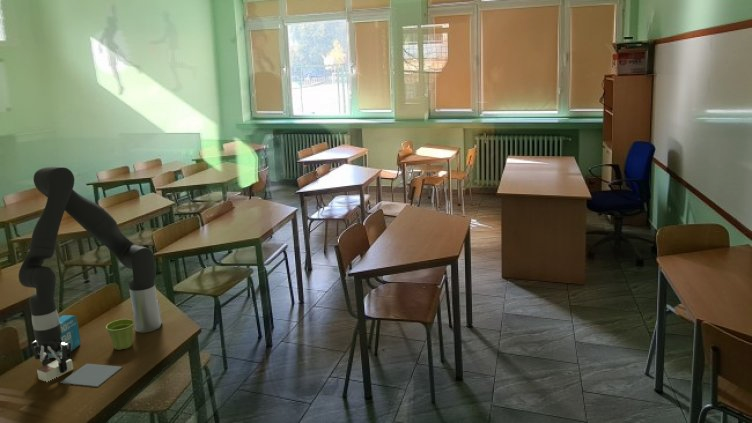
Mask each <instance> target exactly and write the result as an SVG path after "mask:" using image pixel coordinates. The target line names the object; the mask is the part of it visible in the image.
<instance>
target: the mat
mask: <svg viewBox="0 0 752 423" xmlns="http://www.w3.org/2000/svg"><path fill="white" fill-rule="evenodd" d="M122 369H123V366H118V365H107V364H106V365H105V364H95V363H85V364H84V365H82V366H81V367H80V368H78V369H76V371H73V373H71V374H70V375H68V376H67V377H66V378H64V379H62V380H61V381H60V383H59V384H61V383H63V385H71V384H73V385H72V386H81V385H82V387H92V388H99V387H100V386H101V385H103V384H104V383H105V382H106V381H108V380H109V379H110V378H112V377H113V376H114V375H116V374H117V373H118V372H120V371H121V370H122Z"/></svg>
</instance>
